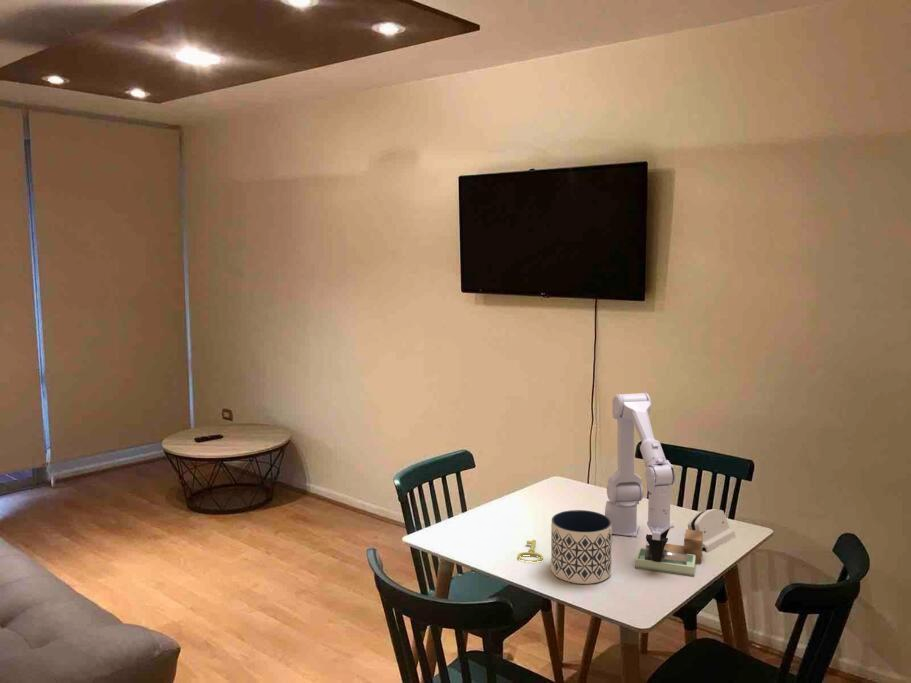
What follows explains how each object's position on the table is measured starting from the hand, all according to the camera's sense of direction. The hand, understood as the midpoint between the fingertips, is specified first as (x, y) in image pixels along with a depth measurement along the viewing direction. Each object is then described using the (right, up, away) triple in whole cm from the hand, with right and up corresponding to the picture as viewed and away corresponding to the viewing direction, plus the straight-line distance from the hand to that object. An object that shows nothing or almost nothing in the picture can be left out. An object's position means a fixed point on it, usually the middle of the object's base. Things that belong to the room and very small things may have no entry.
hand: (658, 555), depth 199 cm
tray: (+2, -3, 0) cm, 3 cm away
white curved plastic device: (+20, -1, +16) cm, 25 cm away
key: (-34, -3, +8) cm, 35 cm away
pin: (+2, -2, 0) cm, 3 cm away
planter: (-22, -4, -3) cm, 22 cm away
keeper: (+8, -2, +6) cm, 10 cm away
